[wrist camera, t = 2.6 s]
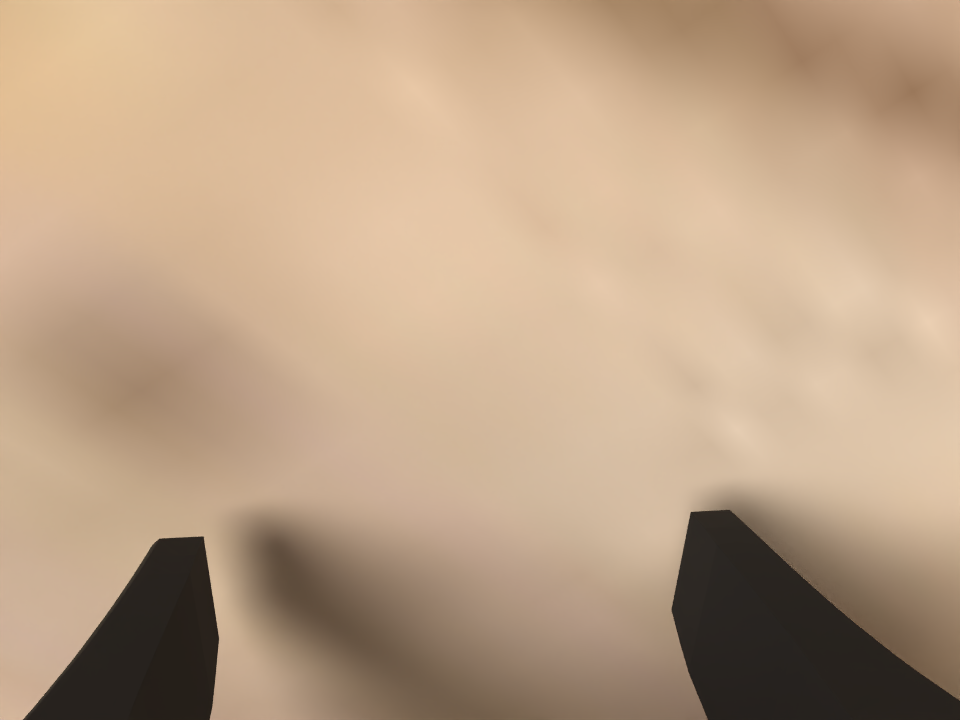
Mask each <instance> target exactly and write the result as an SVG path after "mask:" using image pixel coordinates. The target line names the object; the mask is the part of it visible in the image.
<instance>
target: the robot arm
mask: <svg viewBox="0 0 960 720" xmlns="http://www.w3.org/2000/svg"><path fill="white" fill-rule="evenodd" d="M672 613H673V617H674V621H675V625H676V629H677V632H678V636H679V640H680V644H681V647H682V651H683V654H684V658H685V661H686V665H687V668H688V672H689V674H690V677H691V679H692V682H693V684H694V687H695V689H696V691H697V694H698V696H699V699H700V701H701V704H702V706H703V708H704V711H705V713H706V716H707V718H708V720H960V701H959V700H958V699H956V698H955V697H953V696H952V695H950V694H949V693H948V692H946V691H945V690H943V689H942V688H940V687H939V686H937V685H936V684H935V683H933V682H932V681H930V680H929V679H927V678H926V677H925V676H923V675H922V674H920V673H919V672H917V671H916V670H914V669H913V668H912V667H910V666H909V665H908V664H906V663H905V662H904V661H902V660H901V659H900V658H898V657H897V656H896V655H894V654H893V653H892V652H890V651H889V650H888V649H887V648H885V647H884V646H883V645H882V644H880V643H879V642H878V641H876V640H875V639H874V638H873V637H871V636H870V635H869V634H868V633H866V632H865V631H864V630H863V629H861V628H860V627H859V626H858V625H856V624H855V623H854V622H853V621H852V620H850V619H849V618H848V617H847V616H846V615H845V614H843V613H842V612H841V611H840V610H839V609H837V608H836V607H835V606H834V605H833V604H832V603H830V602H829V601H828V600H827V599H826V598H825V597H824V596H822V595H821V594H820V593H819V592H818V591H817V590H816V589H815V588H813V587H812V586H811V585H810V584H809V583H808V582H807V581H806V580H805V579H803V578H802V577H801V576H800V575H799V574H798V573H797V572H796V571H795V570H794V569H792V568H791V567H790V566H789V565H788V564H787V563H786V562H785V561H784V560H783V559H782V558H781V557H780V556H778V555H777V554H776V553H775V552H774V551H773V550H772V549H771V548H770V547H769V546H768V545H767V544H766V543H765V542H764V541H762V540H761V539H760V538H759V537H758V536H757V535H756V534H755V533H754V532H753V531H752V530H751V529H750V528H749V527H748V526H747V525H745V524H744V523H743V522H742V521H741V520H740V519H739V518H738V517H737V516H736V515H735V514H733V513H732V512H731V511H730V510H720V511H700V512H691V514H690V519H689V524H688V529H687V534H686V539H685V544H684V549H683V554H682V559H681V564H680V569H679V575H678V580H677V585H676V590H675V595H674V600H673V605H672ZM218 644H219V635H218V629H217V622H216V616H215V609H214V603H213V596H212V589H211V583H210V576H209V570H208V563H207V557H206V550H205V544H204V537H184V538H164V539H159V540H158V541H156V542H155V543H154V544H153V545H152V547H151V548H150V550H149V551H148V553H147V555H146V556H145V558H144V560H143V561H142V563H141V564H140V566H139V567H138V569H137V570H136V572H135V574H134V575H133V577H132V578H131V580H130V581H129V583H128V584H127V586H126V587H125V589H124V590H123V592H122V593H121V594H120V596H119V597H118V599H117V600H116V602H115V603H114V605H113V606H112V607H111V609H110V610H109V612H108V613H107V615H106V616H105V617H104V619H103V620H102V621H101V623H100V624H99V625H98V627H97V628H96V630H95V631H94V632H93V634H92V635H91V636H90V638H89V639H88V640H87V642H86V643H85V644H84V646H83V647H82V648H81V650H80V651H79V652H78V654H77V655H76V656H75V658H74V659H73V660H72V662H71V663H70V664H69V665H68V666H67V668H66V669H65V670H64V671H63V673H62V674H61V675H60V676H59V677H58V679H57V680H56V681H55V682H54V683H53V685H52V686H51V687H50V688H49V690H48V691H47V692H46V693H45V694H44V696H43V697H42V698H41V699H40V701H39V702H38V703H37V704H36V705H35V707H34V708H33V709H32V710H31V711H30V712H29V713H28V715H27V716H26V717H25V718H24V719H23V720H210V715H211V710H212V704H213V695H214V685H215V676H216V665H217V654H218Z"/></svg>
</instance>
